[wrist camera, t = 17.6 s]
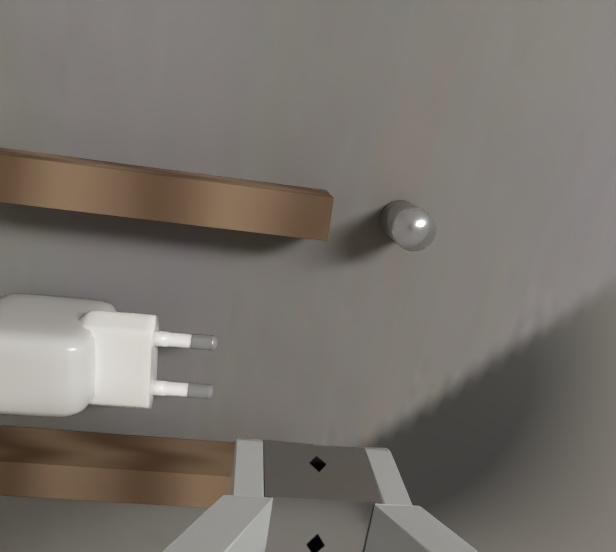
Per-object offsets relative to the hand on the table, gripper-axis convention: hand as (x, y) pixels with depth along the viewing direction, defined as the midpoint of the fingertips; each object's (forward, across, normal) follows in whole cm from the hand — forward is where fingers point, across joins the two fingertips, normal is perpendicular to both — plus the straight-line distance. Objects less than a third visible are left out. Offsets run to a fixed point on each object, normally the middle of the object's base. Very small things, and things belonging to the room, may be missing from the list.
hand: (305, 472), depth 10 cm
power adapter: (+18, +8, +5) cm, 20 cm away
